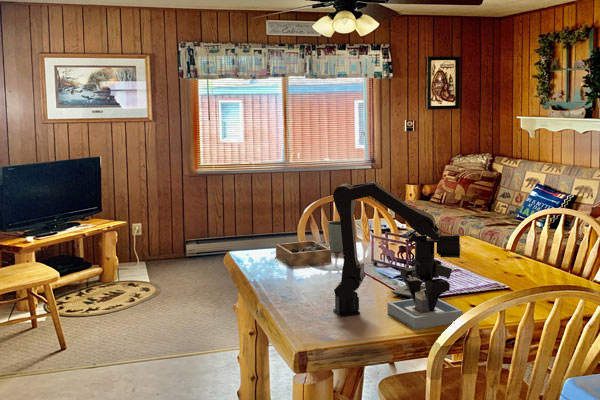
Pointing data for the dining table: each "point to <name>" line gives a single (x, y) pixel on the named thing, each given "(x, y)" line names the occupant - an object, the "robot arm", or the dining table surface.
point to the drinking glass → (335, 236)
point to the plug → (421, 302)
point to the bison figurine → (308, 248)
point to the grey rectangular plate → (406, 291)
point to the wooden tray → (302, 253)
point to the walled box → (423, 314)
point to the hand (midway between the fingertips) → (424, 307)
